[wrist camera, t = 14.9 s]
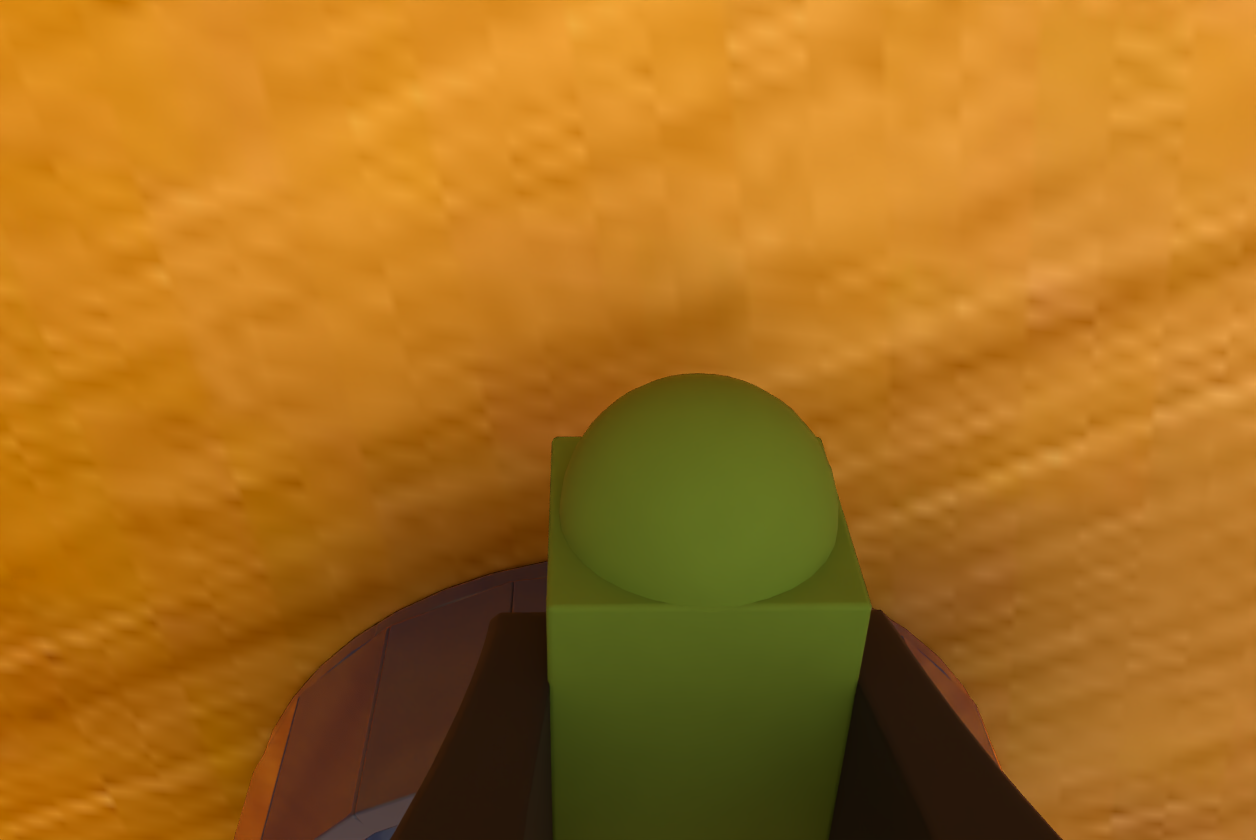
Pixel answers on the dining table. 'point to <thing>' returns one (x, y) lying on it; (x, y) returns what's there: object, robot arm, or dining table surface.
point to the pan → (413, 714)
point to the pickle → (699, 620)
